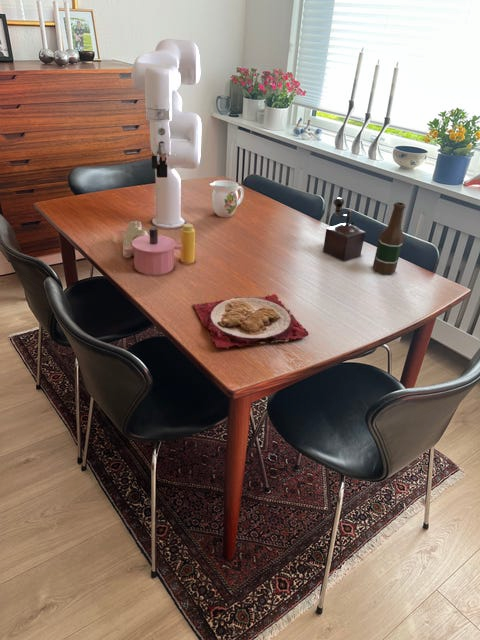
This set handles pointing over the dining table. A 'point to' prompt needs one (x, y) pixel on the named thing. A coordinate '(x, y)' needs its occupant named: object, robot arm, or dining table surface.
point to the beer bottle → (390, 243)
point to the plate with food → (249, 321)
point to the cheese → (132, 236)
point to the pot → (153, 260)
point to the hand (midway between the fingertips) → (159, 172)
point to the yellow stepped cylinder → (187, 243)
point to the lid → (153, 242)
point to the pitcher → (226, 197)
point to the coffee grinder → (343, 237)
